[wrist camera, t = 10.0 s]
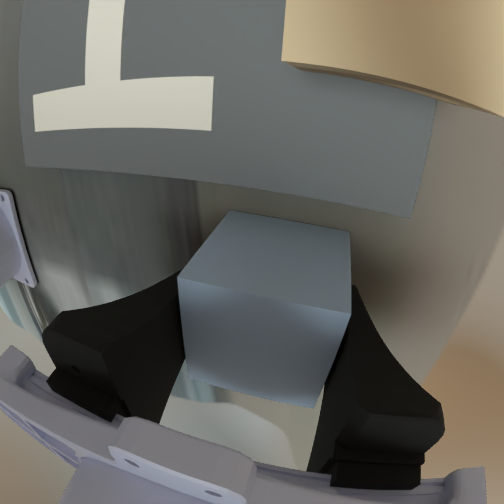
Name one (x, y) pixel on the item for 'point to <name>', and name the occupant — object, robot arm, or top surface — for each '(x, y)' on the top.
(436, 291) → the top surface
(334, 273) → the blue cube
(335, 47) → the wooden block
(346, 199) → the letter board
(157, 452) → the robot arm
